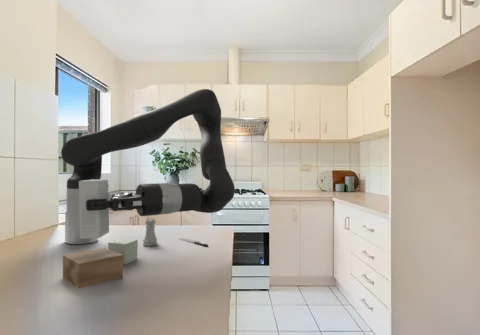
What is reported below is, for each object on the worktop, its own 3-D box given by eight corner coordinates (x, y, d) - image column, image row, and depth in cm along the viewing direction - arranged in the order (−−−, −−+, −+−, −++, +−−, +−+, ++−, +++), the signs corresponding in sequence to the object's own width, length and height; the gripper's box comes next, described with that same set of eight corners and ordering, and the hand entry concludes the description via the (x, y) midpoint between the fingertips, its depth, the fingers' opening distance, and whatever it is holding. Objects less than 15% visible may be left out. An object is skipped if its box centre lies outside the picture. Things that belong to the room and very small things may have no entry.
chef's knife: (181, 238, 111) (173, 238, 109) (181, 234, 111) (173, 235, 109) (214, 247, 97) (206, 248, 95) (214, 243, 97) (206, 244, 95)
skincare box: (89, 233, 71) (89, 179, 71) (109, 232, 71) (109, 179, 71) (78, 239, 65) (77, 180, 65) (99, 238, 65) (99, 180, 65)
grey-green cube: (108, 262, 79) (108, 242, 79) (120, 257, 84) (120, 238, 84) (125, 264, 78) (125, 243, 78) (137, 259, 83) (137, 239, 83)
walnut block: (62, 278, 68) (62, 255, 68) (104, 269, 74) (104, 247, 74) (78, 289, 62) (78, 263, 62) (122, 278, 68) (123, 254, 68)
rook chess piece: (153, 246, 96) (153, 220, 96) (139, 246, 96) (140, 219, 97) (160, 243, 100) (160, 218, 100) (147, 242, 101) (147, 217, 101)
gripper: (148, 182, 82) (77, 184, 73) (170, 184, 71) (89, 187, 61) (148, 211, 82) (78, 217, 73) (170, 218, 70) (89, 226, 61)
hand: (83, 203), depth 67 cm, fingers closed on skincare box, 7 cm apart
